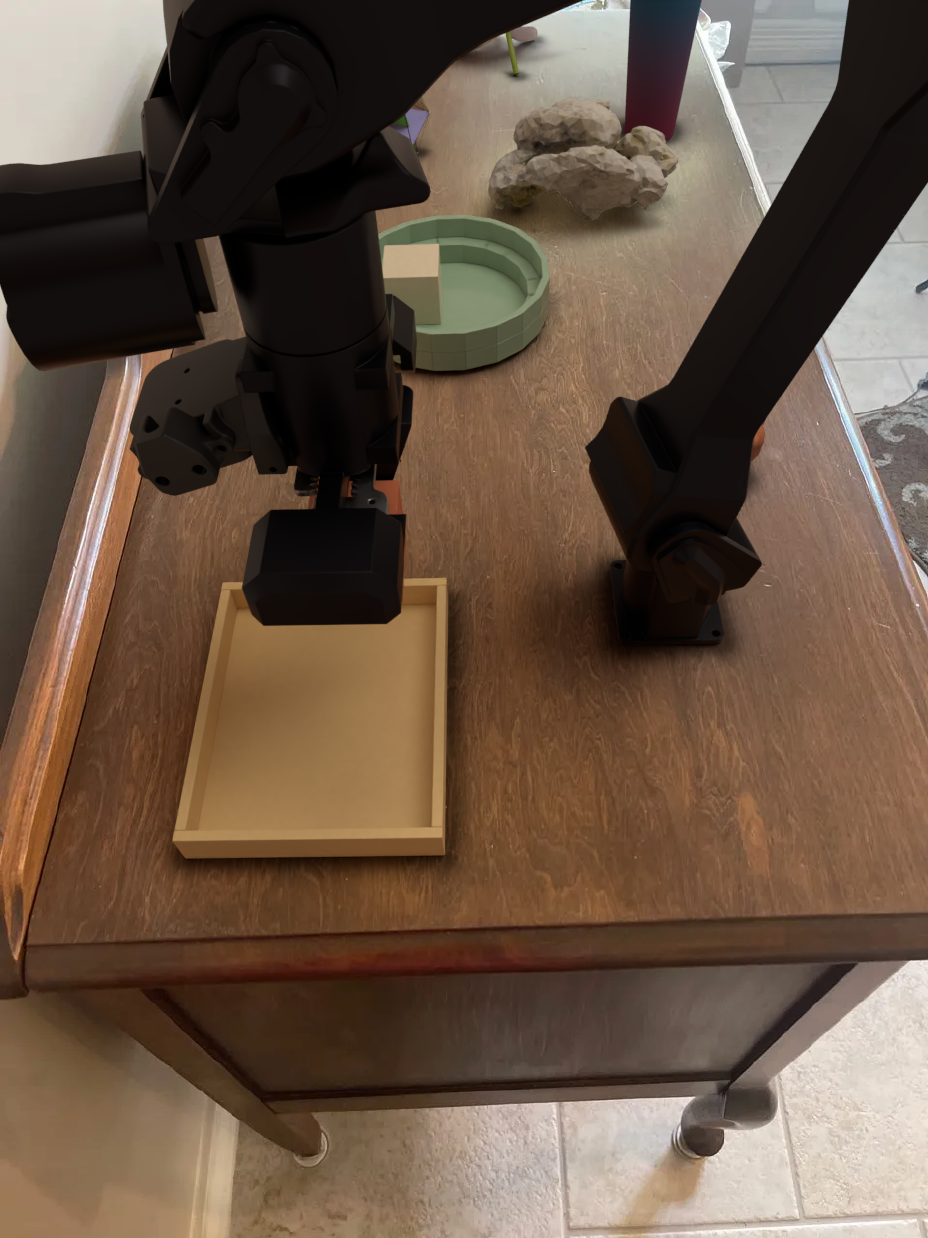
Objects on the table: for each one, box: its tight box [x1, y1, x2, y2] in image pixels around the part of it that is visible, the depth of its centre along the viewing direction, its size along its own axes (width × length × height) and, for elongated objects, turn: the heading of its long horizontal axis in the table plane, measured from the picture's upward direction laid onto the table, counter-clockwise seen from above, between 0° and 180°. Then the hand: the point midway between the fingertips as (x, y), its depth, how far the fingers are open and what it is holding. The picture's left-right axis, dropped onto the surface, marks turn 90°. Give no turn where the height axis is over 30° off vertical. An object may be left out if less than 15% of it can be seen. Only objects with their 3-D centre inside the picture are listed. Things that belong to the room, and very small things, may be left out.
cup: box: [623, 0, 703, 142], centre depth 88 cm, size 7×7×15 cm
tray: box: [171, 577, 449, 859], centre depth 54 cm, size 17×14×2 cm
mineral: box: [487, 97, 679, 221], centre depth 83 cm, size 12×17×10 cm
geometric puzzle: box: [389, 96, 431, 155], centre depth 90 cm, size 7×7×8 cm
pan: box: [378, 214, 551, 372], centre depth 76 cm, size 16×16×4 cm
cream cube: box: [382, 244, 442, 325], centre depth 75 cm, size 4×4×4 cm
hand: (363, 561), depth 49 cm, fingers closed on terracotta cube, 4 cm apart
